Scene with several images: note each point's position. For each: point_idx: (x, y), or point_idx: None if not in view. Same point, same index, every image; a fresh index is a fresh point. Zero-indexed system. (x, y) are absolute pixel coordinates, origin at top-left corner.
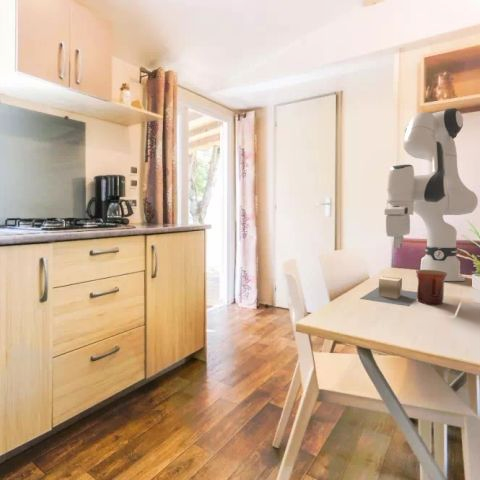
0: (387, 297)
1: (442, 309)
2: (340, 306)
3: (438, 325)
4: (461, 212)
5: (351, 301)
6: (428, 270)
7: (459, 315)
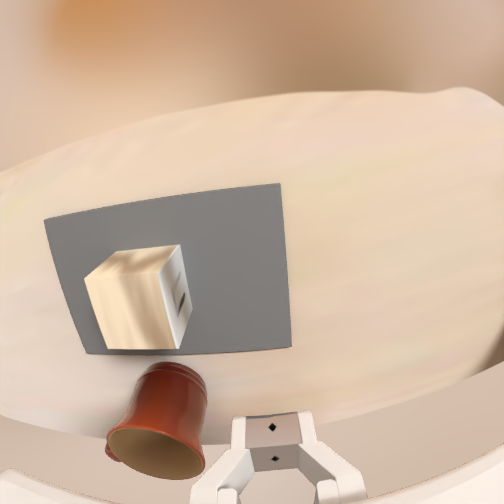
0: None
1: None
2: None
3: (44, 398)
4: None
5: (21, 208)
6: (193, 450)
7: None
